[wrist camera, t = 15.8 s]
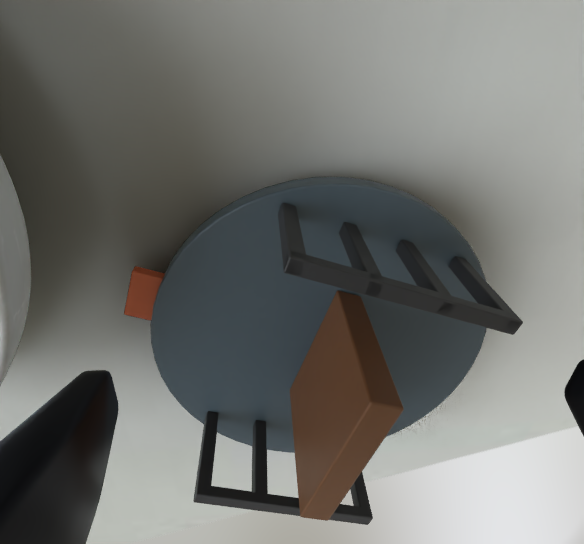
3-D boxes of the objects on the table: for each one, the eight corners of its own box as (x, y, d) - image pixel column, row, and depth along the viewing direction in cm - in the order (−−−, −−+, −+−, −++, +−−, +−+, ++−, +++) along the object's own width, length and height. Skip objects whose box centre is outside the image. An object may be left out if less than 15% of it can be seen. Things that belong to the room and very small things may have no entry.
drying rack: (547, 238, 19) (696, 346, 12) (391, 457, 26) (433, 595, 20) (164, 108, 15) (93, 166, 8) (107, 407, 22) (46, 559, 16)
